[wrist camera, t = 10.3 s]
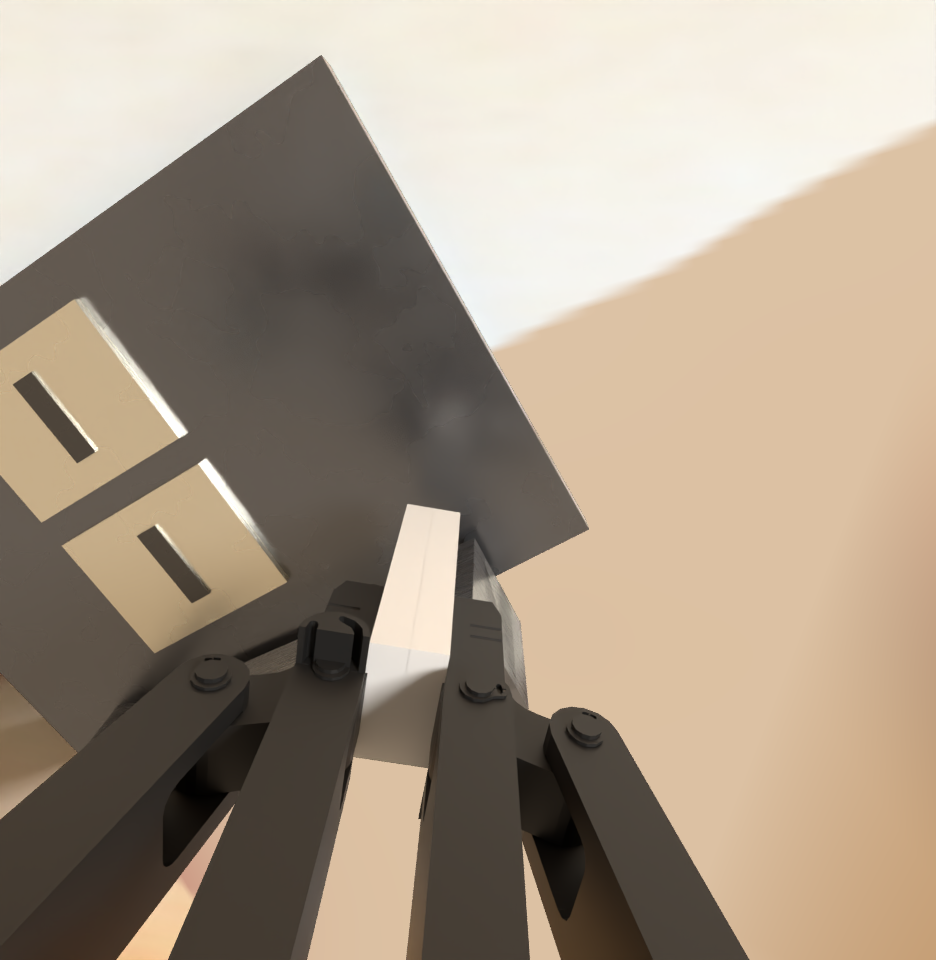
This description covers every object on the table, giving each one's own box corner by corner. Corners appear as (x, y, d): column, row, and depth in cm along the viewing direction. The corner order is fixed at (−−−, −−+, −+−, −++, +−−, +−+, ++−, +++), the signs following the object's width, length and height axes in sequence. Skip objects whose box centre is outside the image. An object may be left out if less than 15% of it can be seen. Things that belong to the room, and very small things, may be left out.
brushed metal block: (202, 753, 25) (145, 857, 21) (147, 683, 24) (74, 777, 20) (520, 622, 23) (528, 709, 18) (474, 537, 21) (472, 609, 17)
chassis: (-190, 436, 22) (-677, 573, 13) (329, 64, 18) (164, -129, 9) (115, 759, 27) (-82, 1033, 18) (587, 521, 23) (659, 714, 13)
